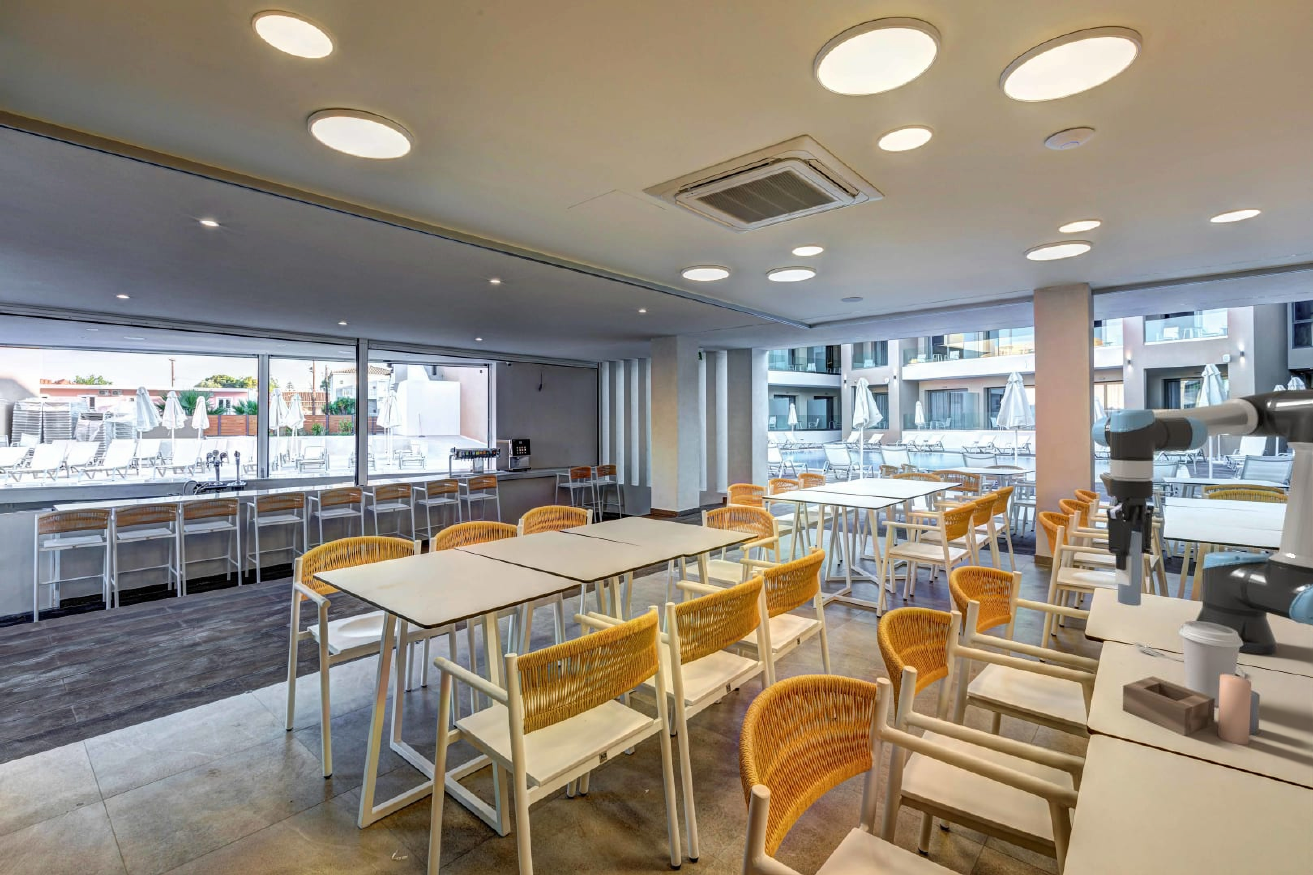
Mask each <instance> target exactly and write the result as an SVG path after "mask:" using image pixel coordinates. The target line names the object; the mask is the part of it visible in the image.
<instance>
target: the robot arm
mask: <svg viewBox="0 0 1313 875" xmlns="http://www.w3.org/2000/svg"><path fill="white" fill-rule="evenodd" d="M1221 435H1230V436H1232V437H1245V436H1257V437H1258V436H1259V437H1260V436H1261V437H1273V438H1287V441H1286V445H1287V446H1288V447H1290V448H1291V449H1292V450H1293V452H1294V457H1293V464H1292V470H1291V476H1290V482H1289V489H1288V495H1287V499H1286V500H1287V501H1286V507H1285V512H1284V514H1285V515H1284V519H1283V525H1282V532H1281V538H1280V545H1279V551H1278V552H1276V553H1275V554H1273V555H1270V556H1269V557H1268V556H1267V555H1265V554H1261V553H1259V554H1258V553H1253V552H1251V553H1250V552H1239V551H1238V552H1236V551H1235V552H1234V551H1230V552H1229V551H1217V552H1216V551H1213V552H1210V553H1207V554H1206V555H1205V556H1204V558H1203V566H1202V607H1201V610H1200V611H1199V613H1198V615H1197V617H1196V618H1195V621H1202V622H1209V623H1214V624H1219V625H1223V626H1226V627H1229V628H1232V629H1234V630H1235V631H1237V632H1238V635H1239V637H1240V638H1241V640H1242V641H1243V646H1241V647H1240V648H1239V653H1246V654H1257V655H1267V654H1268V655H1269V654H1273V653H1275V652H1276V650H1277V641H1276V638H1275V636H1274V632H1273V631H1272V629H1271V626H1270V623H1269V620H1268V619H1267V618H1268V616H1267V613H1268V614H1270V615H1271V614H1272V615H1274V616H1277V617H1280V618H1285V619H1287V620H1292V621H1294V623H1298V624H1302V625H1303V624H1305V625H1308V626H1312V627H1313V388H1311V389H1310V388H1307V389H1281V390H1274V391H1268V392H1263V393H1258V394H1251V395H1246V396H1240V397H1235V398H1229V399H1226V400H1224V401H1222V402H1221V403H1220V404H1213V405H1203V406H1198V407H1190V408H1182V409H1174V410H1164V411H1157V412H1154V410H1152V409H1117V410H1114V411H1112V413H1111V416H1110V417H1109V416H1108V417H1101V418H1100V419H1097V420H1096V421H1095V422H1094V424H1093V426H1092V428H1091V436H1092V439H1093V441H1094V442H1095V443H1096V444H1097V445H1099V446H1101V447H1108V448H1109V460H1110V461H1109V464H1108V466H1109V476H1110V477H1112V478H1111V479H1109V484H1108V485H1109V490H1108V491H1109V492H1108V493H1109V495H1111V496H1113V497H1114V498H1116V499H1115V502H1114V508H1107V509H1106V515H1107V523H1108V524H1107V526H1108V527H1107V528H1108V529H1107V530H1108V531H1107V534H1108V539H1107V540H1108V542H1107V545H1108V552H1109V553H1110V554H1111V555H1115V574H1114V575H1115V577H1114V578H1115V581H1114V582H1115V584H1116V583H1117V584H1118V583H1120V584H1124V585H1128V586H1130V585H1131V557H1132V556H1128V555H1129V549H1130V542H1131V534H1132V531H1135V532H1141V533H1142V555H1141V584H1144V578H1145V571H1144V570H1145V561H1144V560H1145V554H1147V555H1148V554H1150V553H1151V548H1152V531H1153V529H1152V528H1153V514H1154V511H1155V506H1154V505H1150V504H1149V505H1148V504H1147V501H1146V499H1150V498H1152V497H1153V495H1154V482H1153V481H1152V480H1151V479H1154V459H1155V458H1154V454H1155V452H1183V453H1184V452H1186V451H1195V450H1198V449H1201V448H1202V447H1203V446H1204V445H1205V444H1206V443H1207V440H1208V437H1212V436H1214V437H1215V436H1221Z"/></svg>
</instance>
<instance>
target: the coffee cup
mask: <svg viewBox="0 0 1313 875" xmlns="http://www.w3.org/2000/svg"><path fill="white" fill-rule="evenodd" d="M1178 633H1179V635H1181V639H1182V650H1183V660H1184V662H1183V663H1184V675H1185V686H1186V687H1185V688H1187V689H1190V690H1193V691H1196V692H1199V693H1202V694H1204V695H1207V696H1210V697H1213V698H1215V708H1219V689H1220V675H1222V674H1229V675H1235V676H1236V674H1235V672H1236V666H1237V665H1238V664H1237V663H1238V659H1239V658H1238V657H1239V653H1240V652H1239V648H1240V647H1241V646H1243V641H1242V640H1241V638H1240V637H1239V635H1238V632H1237V631H1235V630H1234V629H1232V628H1229V627H1226V626H1223V625H1219V624H1214V623H1209V622H1202V621H1196V620H1187V621H1185V622H1184V623H1183V625H1182V626H1181V627H1180V628H1179V630H1178Z"/></svg>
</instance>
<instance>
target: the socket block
mask: <svg viewBox="0 0 1313 875" xmlns="http://www.w3.org/2000/svg"><path fill="white" fill-rule="evenodd" d="M1122 687H1123V689H1122V711H1124V712H1126V713H1128V714H1131V715H1133V716H1136V717H1138V718H1140V719H1143V720H1145V721H1148V722H1149V723H1150V722H1151V723H1153V724H1155V725H1156V726H1157V725H1158V726H1160V727H1163V728H1164V729H1167V730H1170V731H1171V732H1174V733H1176V734H1179V735H1181V736H1184V737H1185V736H1187V735H1190V734H1192V732H1193V733H1195V732H1198V731H1200V730H1202V729H1205V728H1207V727H1210V726H1212V725H1214V724H1215V708H1216V707H1215V698H1213V697H1210V696H1207V695H1204V694H1202V693H1199V692H1196V691H1193V690H1190V689H1187V688H1186V687H1183V686H1181V685H1178V684H1176V683H1173V682H1170V681H1167V680H1165V679H1161V678H1158V677H1156V676H1154V675H1153V676H1150V677H1146V678H1143V679H1141V680H1137V681H1134V682H1130V683H1127V684H1124V685H1123V686H1122Z"/></svg>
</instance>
